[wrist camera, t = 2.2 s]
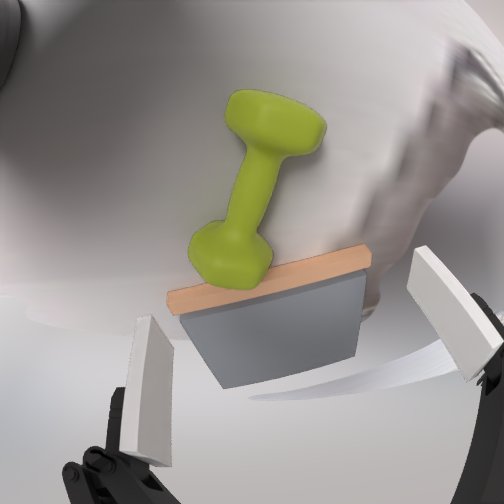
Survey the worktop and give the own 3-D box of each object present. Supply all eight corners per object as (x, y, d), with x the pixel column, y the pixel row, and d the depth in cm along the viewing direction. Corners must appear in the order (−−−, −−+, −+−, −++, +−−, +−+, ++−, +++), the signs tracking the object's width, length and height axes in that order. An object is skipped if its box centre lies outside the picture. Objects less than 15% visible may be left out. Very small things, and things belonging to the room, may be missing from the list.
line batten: (167, 292, 32) (166, 304, 30) (364, 243, 32) (371, 253, 30) (174, 303, 33) (173, 315, 31) (363, 256, 33) (370, 266, 31)
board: (180, 314, 34) (179, 321, 33) (362, 268, 34) (366, 274, 33) (222, 383, 46) (223, 389, 45) (352, 350, 46) (354, 356, 45)
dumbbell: (231, 81, 20) (240, 80, 14) (317, 110, 22) (353, 124, 16) (185, 241, 28) (181, 289, 23) (257, 255, 31) (270, 302, 25)
